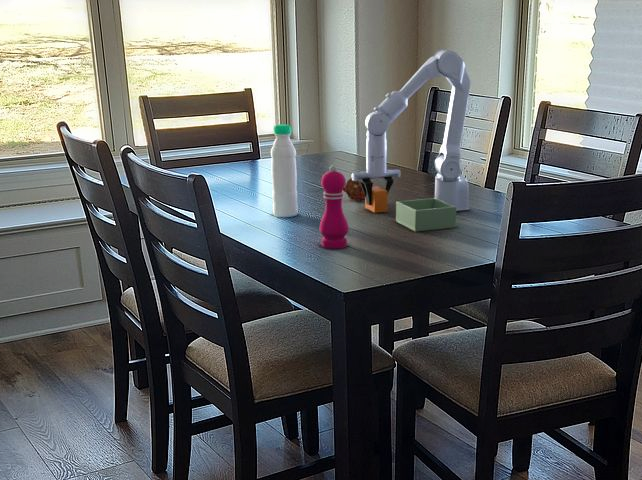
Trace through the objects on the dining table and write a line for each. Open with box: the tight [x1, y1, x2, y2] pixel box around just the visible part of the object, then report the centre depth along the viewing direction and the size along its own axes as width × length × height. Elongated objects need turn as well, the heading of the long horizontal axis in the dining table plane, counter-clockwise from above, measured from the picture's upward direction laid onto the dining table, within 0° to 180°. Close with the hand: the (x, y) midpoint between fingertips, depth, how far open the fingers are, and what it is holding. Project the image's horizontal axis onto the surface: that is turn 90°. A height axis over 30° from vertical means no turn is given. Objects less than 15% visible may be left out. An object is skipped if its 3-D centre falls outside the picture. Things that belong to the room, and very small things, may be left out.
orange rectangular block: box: [364, 185, 388, 214], centre depth 247 cm, size 4×7×6 cm, turn 23°
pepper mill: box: [319, 164, 350, 250], centre depth 209 cm, size 7×7×20 cm
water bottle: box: [270, 123, 299, 218], centre depth 238 cm, size 7×7×25 cm
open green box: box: [395, 197, 457, 232], centre depth 232 cm, size 12×12×6 cm
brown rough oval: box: [342, 176, 365, 202], centre depth 261 cm, size 8×8×12 cm
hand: (376, 203), depth 247 cm, fingers closed on orange rectangular block, 4 cm apart
